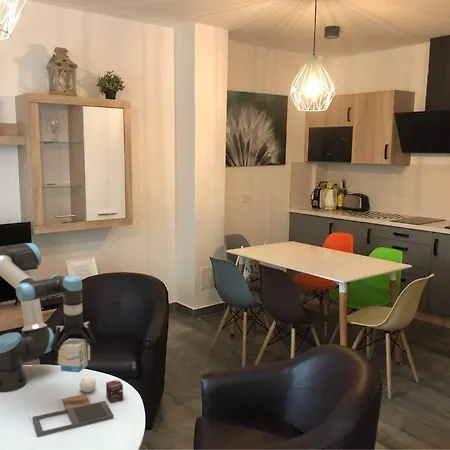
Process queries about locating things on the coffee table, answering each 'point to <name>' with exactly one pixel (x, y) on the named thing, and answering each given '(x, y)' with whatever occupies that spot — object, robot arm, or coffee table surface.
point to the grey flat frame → (76, 417)
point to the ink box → (74, 355)
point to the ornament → (87, 384)
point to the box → (114, 391)
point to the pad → (76, 401)
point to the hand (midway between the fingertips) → (74, 361)
